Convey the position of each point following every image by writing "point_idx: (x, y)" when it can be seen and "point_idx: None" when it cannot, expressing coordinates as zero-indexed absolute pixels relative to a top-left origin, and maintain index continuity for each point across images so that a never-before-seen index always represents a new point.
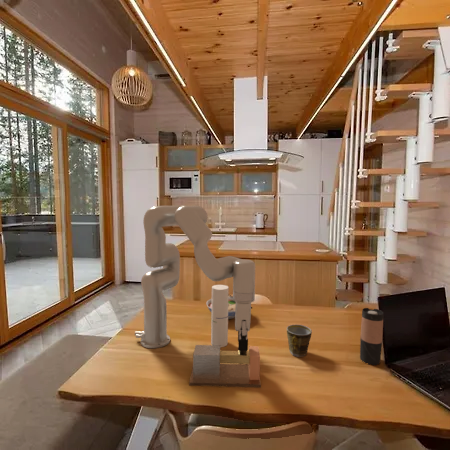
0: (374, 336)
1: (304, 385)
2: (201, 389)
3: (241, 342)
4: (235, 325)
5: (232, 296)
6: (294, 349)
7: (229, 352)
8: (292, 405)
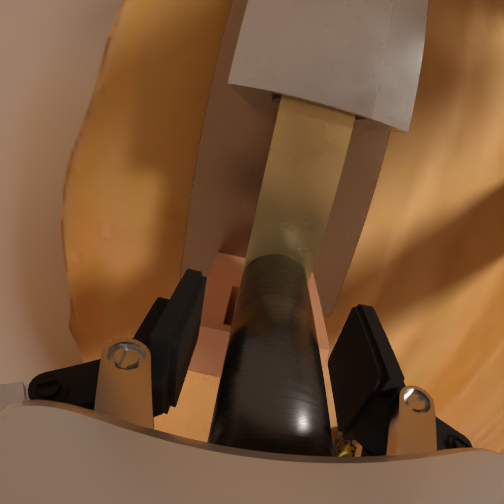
0: None
1: (189, 397)
2: (202, 22)
3: (135, 337)
4: (40, 493)
5: None
6: (348, 442)
7: (310, 188)
8: (100, 333)
